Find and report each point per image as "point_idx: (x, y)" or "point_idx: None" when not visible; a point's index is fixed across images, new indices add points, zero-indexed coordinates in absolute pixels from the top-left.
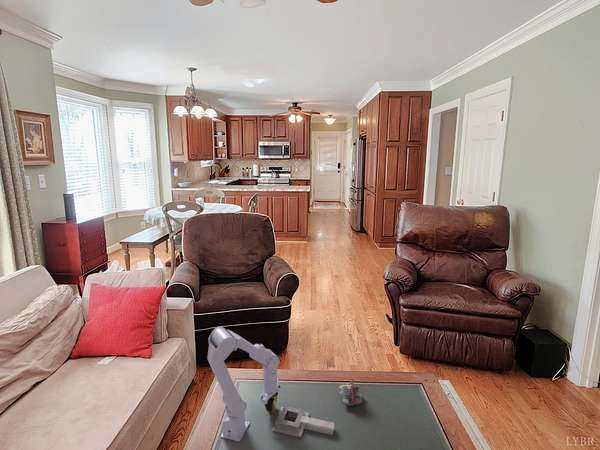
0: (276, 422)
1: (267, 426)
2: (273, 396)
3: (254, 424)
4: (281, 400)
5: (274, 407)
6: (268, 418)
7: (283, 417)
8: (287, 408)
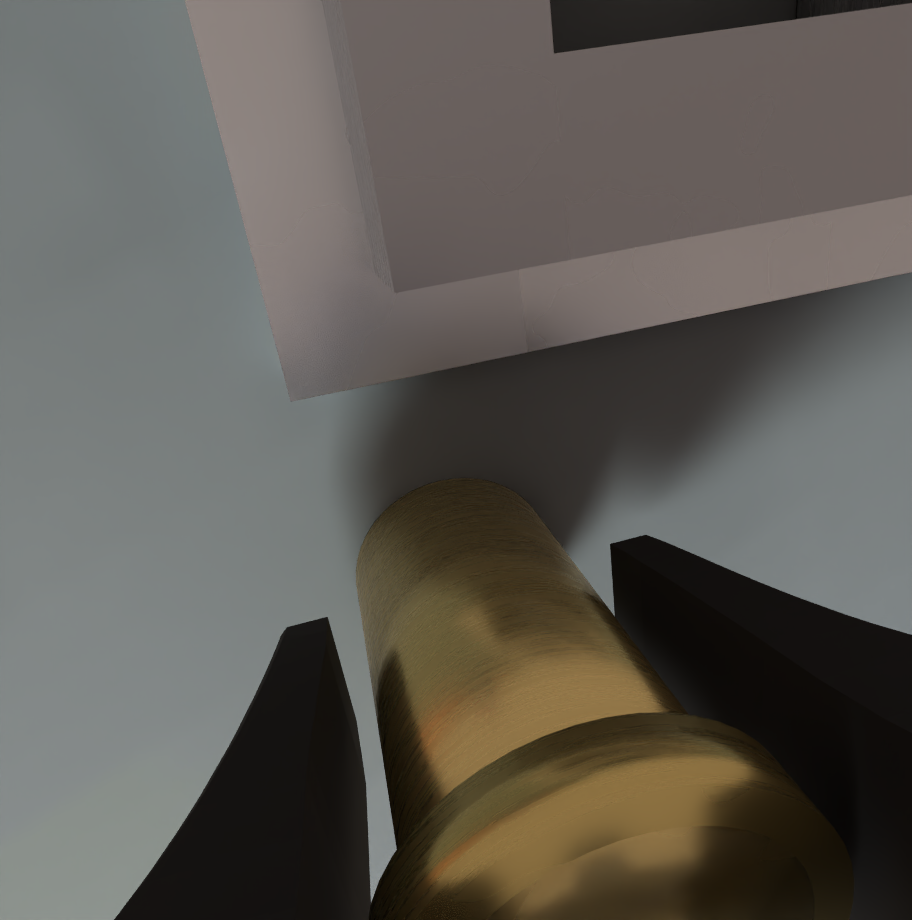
0: (833, 245)
1: (867, 396)
2: (601, 915)
3: (862, 618)
4: (25, 559)
5: (528, 547)
6: (679, 495)
7: (889, 28)
8: (451, 88)
